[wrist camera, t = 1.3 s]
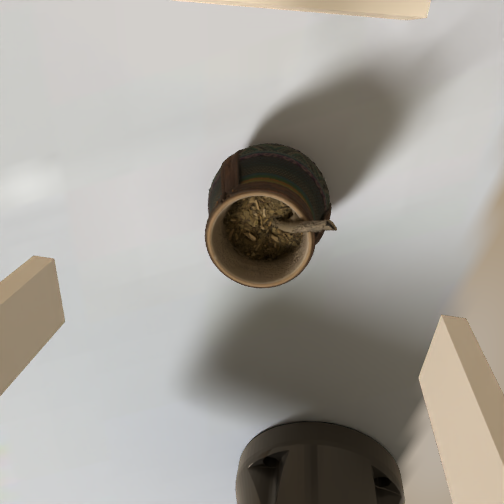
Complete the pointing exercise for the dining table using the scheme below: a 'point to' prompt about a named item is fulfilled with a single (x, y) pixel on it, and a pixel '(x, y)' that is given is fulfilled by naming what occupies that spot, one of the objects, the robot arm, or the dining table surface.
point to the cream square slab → (340, 7)
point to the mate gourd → (266, 215)
